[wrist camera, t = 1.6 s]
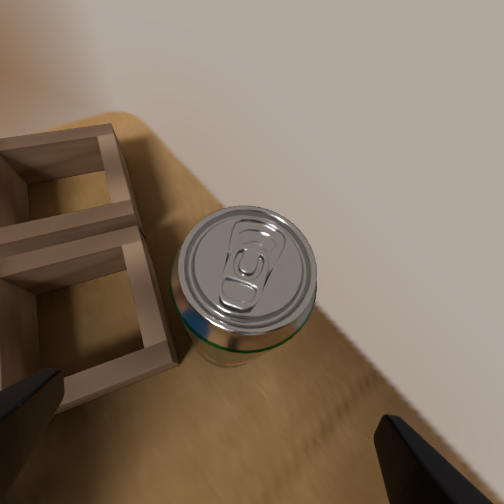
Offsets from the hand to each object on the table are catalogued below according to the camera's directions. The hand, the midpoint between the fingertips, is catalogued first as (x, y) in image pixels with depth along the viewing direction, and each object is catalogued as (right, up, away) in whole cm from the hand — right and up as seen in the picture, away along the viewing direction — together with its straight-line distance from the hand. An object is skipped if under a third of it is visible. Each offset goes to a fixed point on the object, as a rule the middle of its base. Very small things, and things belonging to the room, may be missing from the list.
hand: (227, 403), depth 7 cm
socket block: (-12, +4, +12) cm, 17 cm away
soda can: (-1, -1, +12) cm, 12 cm away
